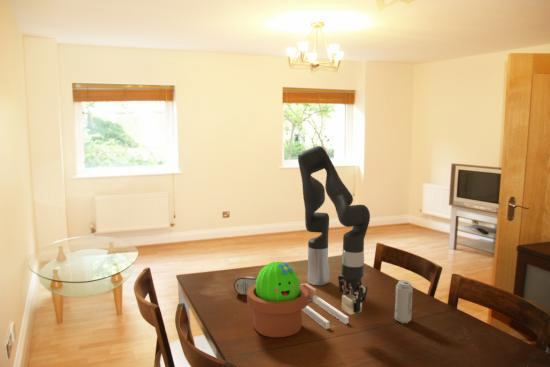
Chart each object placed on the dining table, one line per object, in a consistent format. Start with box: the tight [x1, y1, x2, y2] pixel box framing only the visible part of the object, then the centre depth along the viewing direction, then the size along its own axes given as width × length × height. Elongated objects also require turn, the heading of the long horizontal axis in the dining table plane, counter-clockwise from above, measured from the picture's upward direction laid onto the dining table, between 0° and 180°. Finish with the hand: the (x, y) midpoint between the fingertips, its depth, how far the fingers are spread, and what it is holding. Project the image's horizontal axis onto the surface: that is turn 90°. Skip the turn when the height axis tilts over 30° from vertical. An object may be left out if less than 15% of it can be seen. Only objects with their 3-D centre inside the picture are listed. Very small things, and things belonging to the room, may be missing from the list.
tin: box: [233, 274, 258, 296], centre depth 187 cm, size 15×3×8 cm, turn 84°
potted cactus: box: [246, 260, 309, 338], centre depth 157 cm, size 22×22×25 cm
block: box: [341, 293, 363, 315], centre depth 150 cm, size 5×5×5 cm
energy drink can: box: [394, 279, 414, 324], centre depth 162 cm, size 6×6×15 cm
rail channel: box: [300, 282, 350, 330], centre depth 172 cm, size 10×31×5 cm, turn 26°
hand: (351, 309), depth 150 cm, fingers closed on block, 5 cm apart
